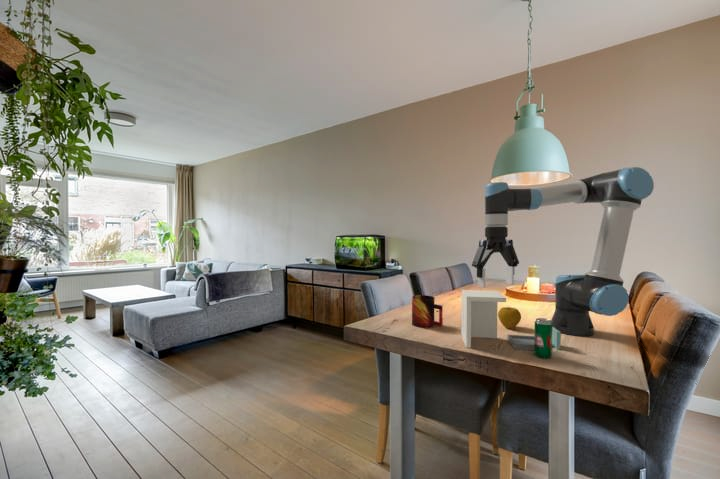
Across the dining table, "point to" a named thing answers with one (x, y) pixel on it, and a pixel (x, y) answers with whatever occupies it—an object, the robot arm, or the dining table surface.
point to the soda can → (543, 338)
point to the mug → (425, 312)
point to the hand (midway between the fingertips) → (496, 285)
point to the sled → (528, 341)
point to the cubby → (479, 314)
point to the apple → (509, 317)
